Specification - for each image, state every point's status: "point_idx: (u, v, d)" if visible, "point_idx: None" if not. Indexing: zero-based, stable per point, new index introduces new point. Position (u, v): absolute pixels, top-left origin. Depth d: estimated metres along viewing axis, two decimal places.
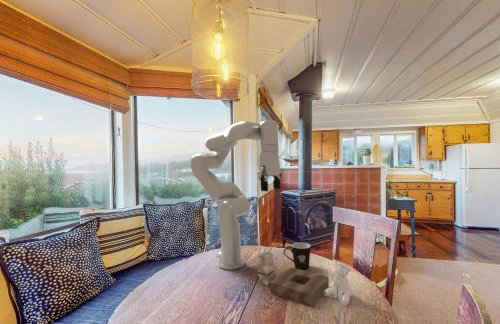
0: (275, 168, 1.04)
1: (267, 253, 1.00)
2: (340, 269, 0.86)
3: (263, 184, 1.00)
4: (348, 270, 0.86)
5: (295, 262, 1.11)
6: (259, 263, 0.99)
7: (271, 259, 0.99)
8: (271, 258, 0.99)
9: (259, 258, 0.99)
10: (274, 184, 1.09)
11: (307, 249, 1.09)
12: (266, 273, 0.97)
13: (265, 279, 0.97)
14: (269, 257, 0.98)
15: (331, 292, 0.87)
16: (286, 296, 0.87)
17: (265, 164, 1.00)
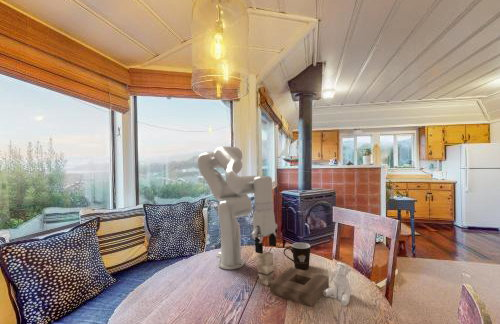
0: (270, 227, 0.98)
1: (267, 253, 1.00)
2: (340, 269, 0.86)
3: (258, 246, 0.94)
4: (348, 270, 0.86)
5: (295, 262, 1.11)
6: (259, 263, 0.99)
7: (271, 259, 0.99)
8: (271, 258, 0.99)
9: (259, 258, 0.99)
10: (270, 241, 1.03)
11: (307, 249, 1.09)
12: (266, 273, 0.97)
13: (265, 279, 0.97)
14: (269, 257, 0.98)
15: (331, 292, 0.87)
16: (286, 296, 0.87)
17: (259, 224, 0.95)
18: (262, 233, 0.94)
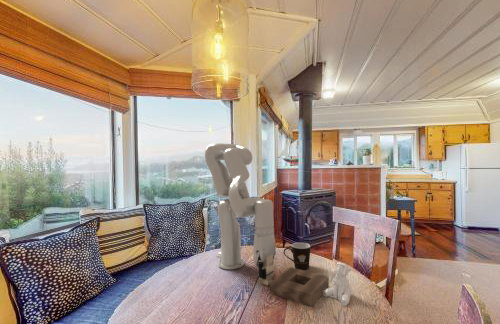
0: (270, 251, 0.98)
1: None
2: (340, 269, 0.86)
3: (261, 272, 0.96)
4: (348, 270, 0.86)
5: (295, 262, 1.11)
6: None
7: (271, 259, 0.99)
8: (271, 258, 0.99)
9: None
10: None
11: (307, 249, 1.09)
12: (266, 273, 0.97)
13: (265, 279, 0.97)
14: (269, 257, 0.98)
15: (331, 292, 0.87)
16: (286, 296, 0.87)
17: (260, 249, 0.95)
18: (262, 258, 0.95)
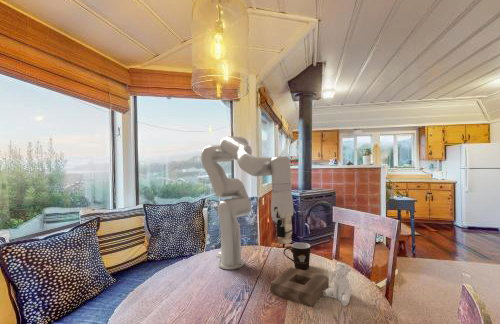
0: (288, 209, 0.95)
1: None
2: (340, 269, 0.86)
3: (279, 230, 0.92)
4: (348, 270, 0.86)
5: (295, 262, 1.11)
6: None
7: (289, 217, 0.95)
8: (289, 216, 0.95)
9: None
10: None
11: (307, 249, 1.09)
12: (285, 231, 0.93)
13: None
14: (288, 215, 0.94)
15: (331, 292, 0.87)
16: (286, 296, 0.87)
17: (278, 206, 0.91)
18: (281, 215, 0.91)
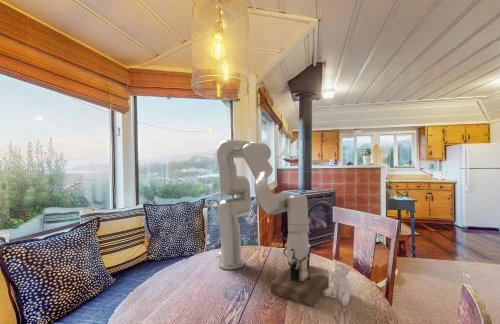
0: (305, 249, 0.92)
1: None
2: (340, 269, 0.86)
3: (294, 272, 0.89)
4: (348, 270, 0.86)
5: None
6: None
7: (305, 265, 0.92)
8: (305, 264, 0.92)
9: None
10: None
11: None
12: (301, 280, 0.90)
13: None
14: (304, 263, 0.91)
15: (331, 292, 0.87)
16: (286, 296, 0.87)
17: (294, 248, 0.88)
18: (297, 257, 0.88)
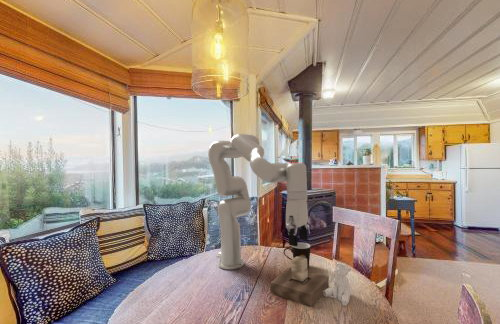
0: (304, 217, 0.92)
1: (301, 258, 0.93)
2: (340, 269, 0.86)
3: (292, 238, 0.88)
4: (348, 270, 0.86)
5: None
6: (293, 269, 0.92)
7: (306, 265, 0.92)
8: (306, 264, 0.92)
9: (293, 264, 0.92)
10: (300, 234, 0.96)
11: (307, 249, 1.09)
12: (301, 280, 0.90)
13: None
14: (304, 263, 0.91)
15: (331, 292, 0.87)
16: (286, 296, 0.87)
17: (293, 214, 0.88)
18: (296, 224, 0.88)
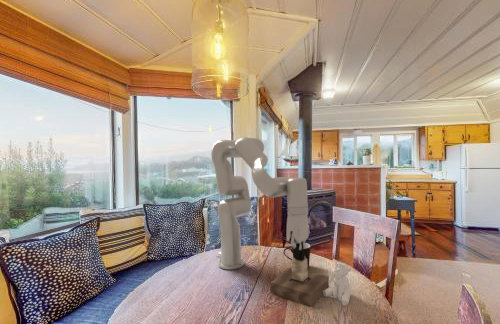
0: (304, 232, 0.92)
1: None
2: (340, 269, 0.86)
3: (298, 253, 0.91)
4: (348, 270, 0.86)
5: None
6: (293, 269, 0.92)
7: (306, 265, 0.92)
8: (306, 264, 0.92)
9: (293, 264, 0.92)
10: None
11: (307, 249, 1.09)
12: (301, 280, 0.90)
13: None
14: (304, 263, 0.91)
15: (331, 292, 0.87)
16: (286, 296, 0.87)
17: (294, 230, 0.88)
18: (297, 239, 0.88)
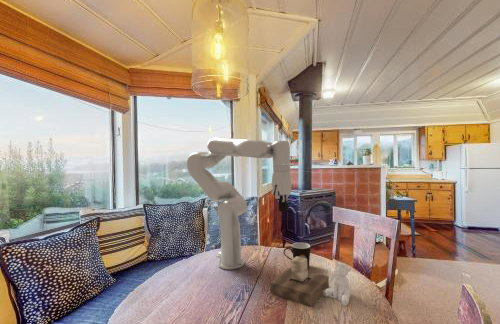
0: (287, 187, 1.07)
1: (301, 258, 0.93)
2: (340, 269, 0.86)
3: (281, 204, 1.07)
4: (348, 270, 0.86)
5: None
6: (293, 269, 0.92)
7: (306, 265, 0.92)
8: (306, 264, 0.92)
9: (293, 264, 0.92)
10: None
11: (307, 249, 1.09)
12: (301, 280, 0.90)
13: None
14: (304, 263, 0.91)
15: (331, 292, 0.87)
16: (286, 296, 0.87)
17: (278, 184, 1.04)
18: (280, 191, 1.03)
